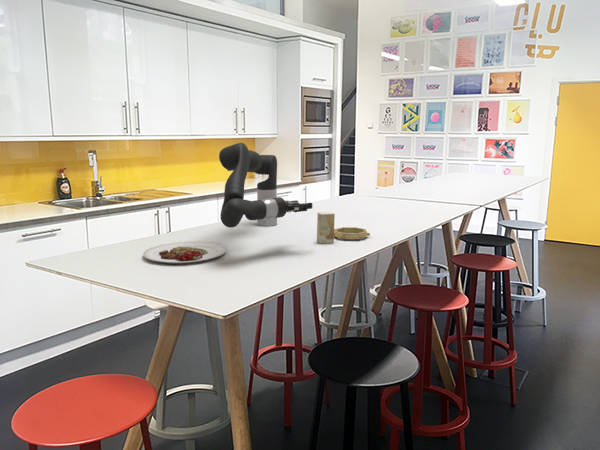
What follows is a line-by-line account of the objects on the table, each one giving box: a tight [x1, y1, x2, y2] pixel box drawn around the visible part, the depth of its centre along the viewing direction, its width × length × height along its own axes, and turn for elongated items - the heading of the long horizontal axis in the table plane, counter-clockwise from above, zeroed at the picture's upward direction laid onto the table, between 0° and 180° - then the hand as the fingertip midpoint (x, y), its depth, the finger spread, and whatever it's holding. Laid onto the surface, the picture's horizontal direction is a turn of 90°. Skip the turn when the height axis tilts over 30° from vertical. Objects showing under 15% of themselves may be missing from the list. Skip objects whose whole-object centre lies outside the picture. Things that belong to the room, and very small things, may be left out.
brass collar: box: [334, 226, 371, 239], centre depth 215 cm, size 16×13×2 cm
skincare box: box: [316, 211, 336, 245], centre depth 205 cm, size 6×4×12 cm
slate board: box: [337, 237, 366, 241], centre depth 215 cm, size 11×11×1 cm
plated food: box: [142, 241, 227, 264], centre depth 187 cm, size 30×30×3 cm
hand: (304, 204), depth 196 cm, fingers open, 8 cm apart
